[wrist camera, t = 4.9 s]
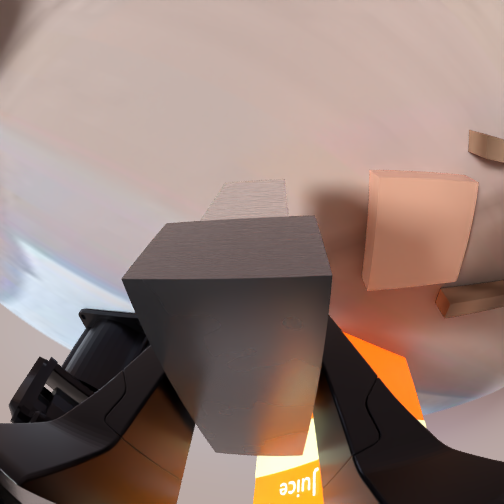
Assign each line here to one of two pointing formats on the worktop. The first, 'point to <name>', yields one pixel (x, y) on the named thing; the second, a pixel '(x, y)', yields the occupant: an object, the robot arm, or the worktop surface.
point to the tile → (416, 228)
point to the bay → (482, 294)
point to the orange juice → (307, 466)
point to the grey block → (239, 317)
